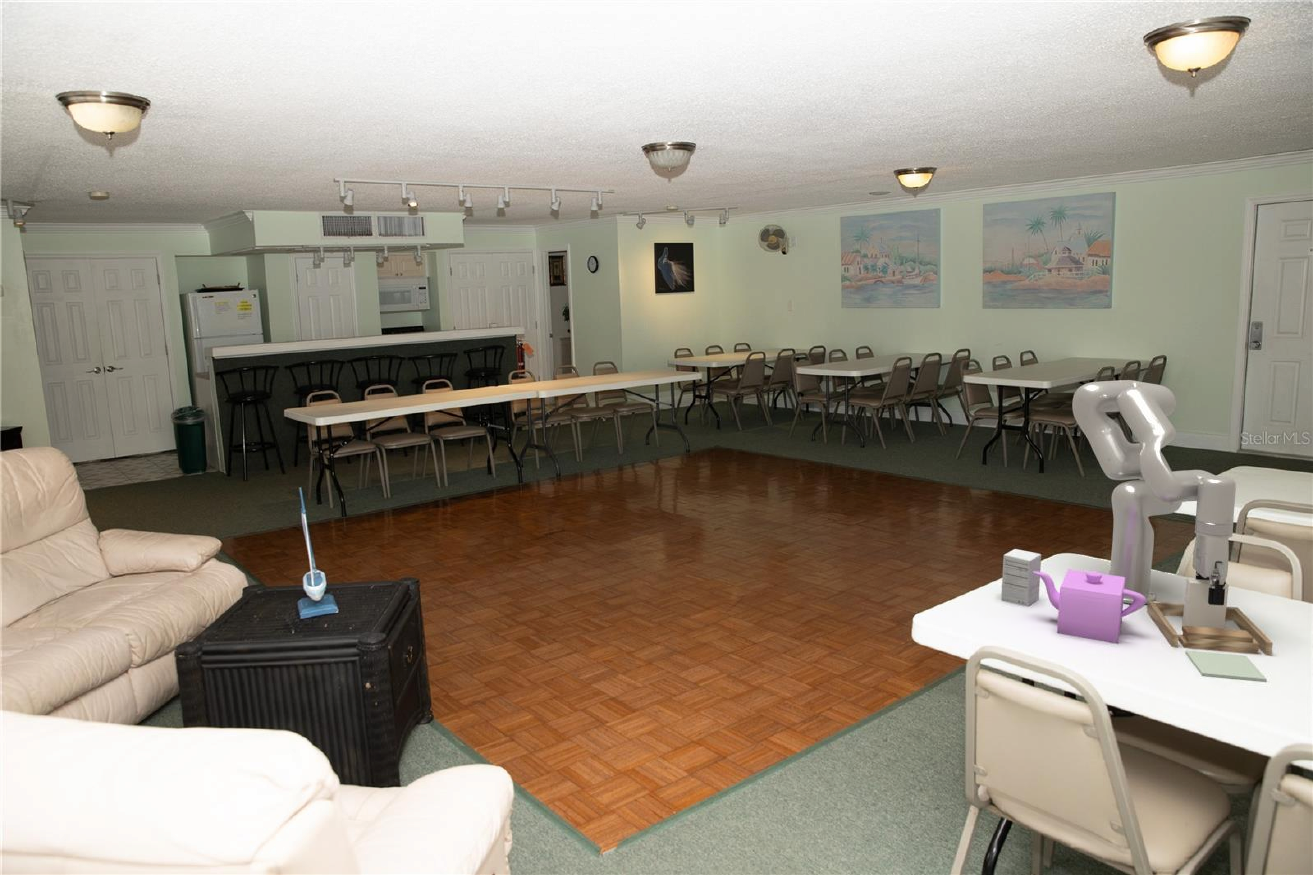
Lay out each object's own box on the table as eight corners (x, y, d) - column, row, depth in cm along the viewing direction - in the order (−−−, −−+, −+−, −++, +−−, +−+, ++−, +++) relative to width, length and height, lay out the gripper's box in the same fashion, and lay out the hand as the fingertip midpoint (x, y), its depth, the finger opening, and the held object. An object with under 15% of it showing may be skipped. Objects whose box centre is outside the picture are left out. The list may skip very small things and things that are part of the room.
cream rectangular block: (1186, 630, 212) (1190, 582, 210) (1182, 625, 215) (1186, 578, 213) (1223, 633, 210) (1228, 585, 208) (1219, 628, 213) (1224, 581, 211)
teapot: (1034, 607, 228) (1038, 556, 226) (1144, 625, 215) (1149, 571, 213) (1025, 627, 215) (1028, 573, 213) (1140, 648, 203) (1146, 590, 200)
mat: (1202, 675, 188) (1202, 673, 188) (1185, 652, 199) (1185, 650, 199) (1266, 681, 185) (1266, 679, 185) (1245, 658, 196) (1245, 655, 196)
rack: (1171, 646, 203) (1172, 634, 202) (1146, 611, 224) (1147, 600, 223) (1271, 655, 197) (1272, 642, 197) (1236, 618, 218) (1237, 607, 218)
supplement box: (1012, 592, 239) (1014, 548, 237) (1039, 599, 234) (1042, 553, 231) (1000, 599, 234) (1002, 554, 231) (1027, 606, 228) (1030, 560, 226)
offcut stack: (1183, 647, 202) (1185, 632, 202) (1177, 639, 207) (1178, 624, 206) (1258, 653, 198) (1259, 638, 198) (1250, 645, 203) (1252, 630, 202)
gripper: (1185, 519, 217) (1180, 585, 219) (1207, 536, 200) (1202, 608, 203) (1219, 520, 215) (1214, 587, 217) (1245, 538, 198) (1239, 611, 201)
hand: (1208, 597), depth 210 cm, fingers open, 9 cm apart
